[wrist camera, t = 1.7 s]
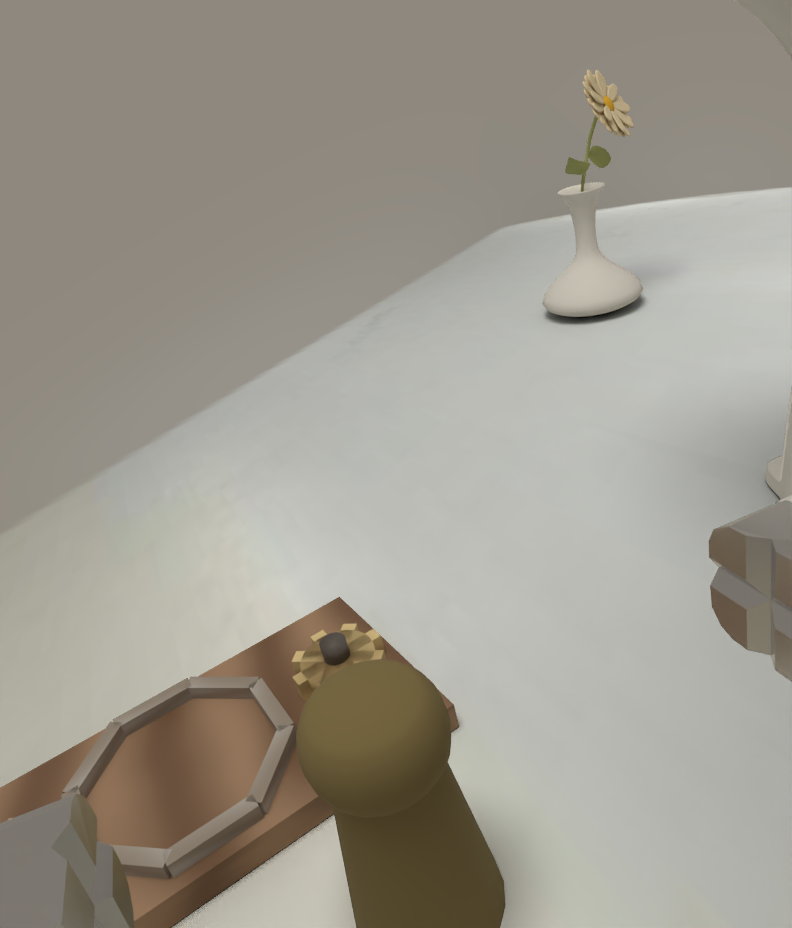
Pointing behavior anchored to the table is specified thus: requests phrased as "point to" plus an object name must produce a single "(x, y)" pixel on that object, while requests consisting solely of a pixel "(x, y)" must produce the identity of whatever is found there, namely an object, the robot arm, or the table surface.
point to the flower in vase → (593, 222)
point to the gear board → (208, 767)
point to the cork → (397, 800)
